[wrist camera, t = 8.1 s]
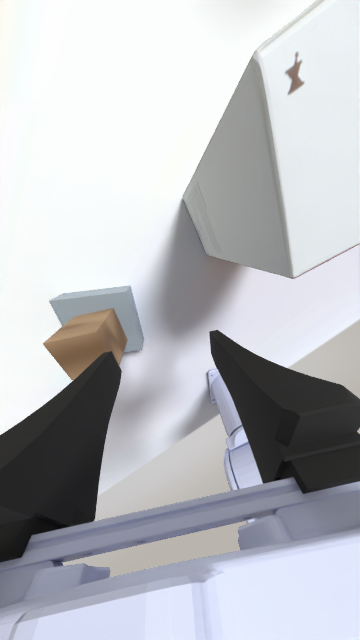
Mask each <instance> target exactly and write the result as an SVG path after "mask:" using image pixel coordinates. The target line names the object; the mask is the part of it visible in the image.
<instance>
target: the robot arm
mask: <svg viewBox="0 0 360 640" xmlns="http://www.w3.org/2000/svg"><path fill="white" fill-rule="evenodd" d="M210 345H211V354H212V357H213V360H214V362H215V365H216V367H217V369H215V370H210V371H209V372H208V378H209V388H210V398H211V404H217V406H218V409H219V412H220V415H221V418H222V421H223V424H224V427H225V430H226V433H227V435H228V437H229V438H228V439H226V442H227V445H228V448H227V449H226V450H225V454H224V468H225V473H226V477H227V481H228V484H229V487H230V490H231V491H229V492H224V493H220V494H215V495H211V496H206V497H202V498H197V499H193V500H188V501H184V502H179V503H175V504H171V505H166V506H162V507H157V508H153V509H148V510H143V511H139V512H134V513H130V514H126V515H121V516H116V517H112V518H108V519H103V520H99V521H94V519H95V512H96V503H97V494H98V485H99V477H100V470H101V463H102V456H103V450H104V444H105V439H106V434H107V429H108V424H109V420H110V416H111V413H112V409H113V406H114V402H115V399H116V396H117V392H118V389H119V385H120V379H121V372H122V371H121V369H120V367H119V365H118V363H117V361H116V359H115V357H114V355H113V353H112V351H110V352H105V353H102V354H101V355H100V356H99V357H98V358H97V359H96V360H95V361H94V362H93V363H91V364H90V365H89V366H88V367H87V368H86V369H85V370H84V371H83V372H82V373H81V374H80V375H79V376H78V377H77V378H76V379H74V380H73V381H72V382H71V383H70V384H69V385H68V386H67V387H66V388H64V389H63V390H62V391H61V392H60V393H58V394H57V395H56V396H55V397H54V398H52V399H51V400H50V401H48V402H47V403H46V404H45V405H43V406H42V407H41V408H39V409H38V410H36V411H35V412H34V413H32V414H31V415H30V416H28V417H27V418H25V419H24V420H23V421H21V422H20V423H18V424H17V425H15V426H14V427H12V428H11V429H9V430H8V431H6V432H5V433H3V434H2V435H0V640H360V434H359V433H358V432H357V430H358V429H359V428H360V399H359V398H358V397H357V396H355V395H354V394H353V393H351V392H350V391H349V390H348V389H346V388H345V387H344V386H342V385H340V384H336V383H332V382H329V381H326V380H322V379H318V378H315V377H311V376H308V375H305V374H302V373H299V372H296V371H293V370H290V369H288V368H285V367H283V366H280V365H278V364H275V363H273V362H271V361H268V360H266V359H264V358H262V357H260V356H258V355H256V354H254V353H252V352H250V351H249V350H247V349H245V348H243V347H242V346H240V345H239V344H237V343H236V342H234V341H233V340H231V339H230V338H228V337H227V336H225V335H224V334H223V333H221V332H220V331H218V330H215V331H210ZM93 521H94V522H93ZM242 521H246V522H247V524H246V525H243V526H240V527H239V529H238V533H239V539H238V542H239V546H240V550H241V551H235V552H230V553H225V554H219V555H214V556H208V557H203V558H198V559H193V560H188V561H182V562H178V563H172V564H168V565H163V566H159V567H154V568H150V569H144V570H140V571H136V572H131V573H127V574H123V575H118V576H114V577H110V578H109V576H110V568H109V567H92V566H88V565H86V564H75V565H67V566H63V564H62V562H67V561H71V560H75V559H80V558H84V557H89V556H93V555H97V554H102V553H106V552H110V551H115V550H119V549H124V548H128V547H132V546H137V545H141V544H145V543H150V542H154V541H159V540H163V539H168V538H172V537H176V536H181V535H185V534H190V533H194V532H198V531H202V530H207V529H211V528H216V527H220V526H224V525H229V524H233V523H238V522H242Z"/></svg>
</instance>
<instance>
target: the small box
mask: <svg viewBox="0 0 360 640" xmlns="http://www.w3.org/2000/svg"><path fill="white" fill-rule="evenodd" d="M183 199H184V202H185V204H186V206H187V209H188V211H189V213H190V216H191V218H192V221H193V223H194V225H195V228H196V230H197V232H198V235H199V237H200V240H201V242H202V245H203V247H204V249H205V252H206V254H207V255H208V256H212V257H215V258H219V259H222V260H226V261H230V262H233V263H237V264H241V265H244V266H248V267H252V268H255V269H259V270H263V271H267V272H270V273H274V274H278V275H281V276H285V277H288V278H291V279H294V278H297V277H298V276H300V275H302V274H304V273H306V272H308V271H310V270H312V269H313V268H315V267H317V266H319V265H321V264H323V263H325V262H327V261H329V260H330V259H332V258H334V257H336V256H338V255H340V254H342V253H344V252H346V251H348V250H349V249H351V248H353V247H355V246H357V245H359V244H360V0H316V1H315V2H314V3H313V4H312V5H310V6H309V7H308V8H307V9H306V10H305V11H303V12H302V13H301V14H300V15H299V16H297V17H296V18H295V19H293V20H292V21H291V22H289V23H288V24H287V25H285V26H284V27H283V28H282V29H280V30H279V31H278V32H277V33H275V34H274V35H273V36H272V37H270V38H269V39H268V40H266V41H265V42H264V43H262V44H261V45H260V46H259V47H258V48H257V49H256V50H255V52H254V53H253V55H252V57H251V59H250V61H249V63H248V65H247V67H246V69H245V71H244V73H243V75H242V77H241V79H240V81H239V83H238V85H237V87H236V89H235V91H234V94H233V96H232V98H231V100H230V102H229V104H228V106H227V108H226V110H225V112H224V114H223V116H222V118H221V120H220V122H219V124H218V126H217V128H216V130H215V132H214V134H213V136H212V138H211V140H210V142H209V144H208V146H207V148H206V150H205V152H204V154H203V156H202V158H201V160H200V162H199V164H198V166H197V169H196V171H195V173H194V175H193V177H192V179H191V181H190V183H189V185H188V187H187V188H186V190H185V192H184V194H183Z"/></svg>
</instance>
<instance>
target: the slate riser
mask: <svg viewBox="0 0 360 640" xmlns="http://www.w3.org/2000/svg"><path fill="white" fill-rule="evenodd" d="M49 302H50V304H51V306H52V308H53V309H54V311H55V313H56V315H57V317H58V319H59V320H60V322H61V324H62V326H64V325H65V324H66V323H67V322H68V321H70V320H71V319H72V318H73V317H75V316H79V315H84V314H88V313H93V312H97V311H102V310H106V309H111V308H114V310H115V313H116V315H117V317H118V319H119V322H120V324H121V326H122V328H123V330H124V333H125V335H126V337H127V339H128V340H127V343H126V346H125V349H124V352H130V351H137V350H142V347H143V341H144V337H143V333H142V329H141V325H140V321H139V317H138V313H137V310H136V306H135V302H134V298H133V294H132V290H131V286H123V287H114V288H106V289H98V290H89V291H81V292H72V293H64V294H61V295H59V296H58V297H56V298H54V299H52V300H50V301H49Z"/></svg>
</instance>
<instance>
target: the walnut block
mask: <svg viewBox="0 0 360 640" xmlns="http://www.w3.org/2000/svg"><path fill="white" fill-rule="evenodd" d="M127 340H128V339H127V337H126V335H125V333H124V330H123V328H122V326H121V324H120V322H119V319H118V317H117V315H116V313H115V310H114V308H111V309H106V310H102V311H97V312H93V313H88V314H84V315H79V316H75V317H73V318H72V319H71V320H70V321H68V322H67V323H66V324H65V325H64V326H63V327H62V328H60V329H59V330H58V331H57V332H56V333H55V334H53V335H52V336H51V337H50V338H49V339H48V340H47V341H45V342H44V343H43V345H44V346H45V347H46V348H47V350H48V351H49V352H50V353H51V355H52V356H53V357H54V358H55V360H56V361H57V362H58V363H59V365H60V366H61V367H62V368H63V370H64V371H65V372H66V373H67V375H68V376H69V377H70V378H71V379H72V380H74V379H76V378H77V377H78V376H79V375H80V374H81V373H82V372H83V371H84V370H85V369H86V368H87V367H88V366H89V365H90V364H91V363H93V362H94V361H95V360H96V359H97V358H98V357H99V356H100V355H101V354H102V353H105V352H110V351H112V353H113V355H114V357H115V359H116V361H117V363H118V365H119V364H120V361H121V358H122V355H123V352H124V349H125V346H126V343H127Z"/></svg>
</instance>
